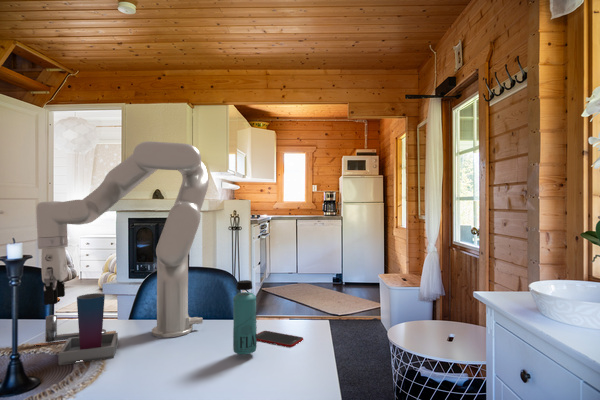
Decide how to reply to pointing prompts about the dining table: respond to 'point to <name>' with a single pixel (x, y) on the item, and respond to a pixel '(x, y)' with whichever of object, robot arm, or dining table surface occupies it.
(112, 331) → the crank base
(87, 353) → the tray
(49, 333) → the crank
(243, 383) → the dining table surface
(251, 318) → the beverage bottle
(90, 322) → the cup
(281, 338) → the cell phone
